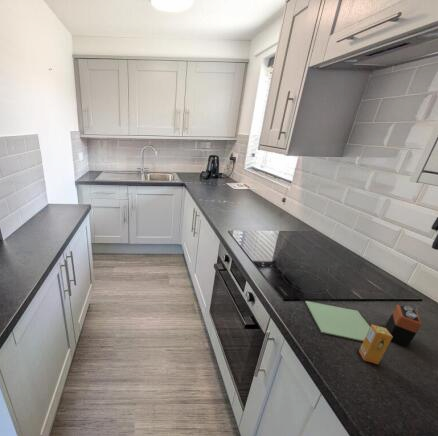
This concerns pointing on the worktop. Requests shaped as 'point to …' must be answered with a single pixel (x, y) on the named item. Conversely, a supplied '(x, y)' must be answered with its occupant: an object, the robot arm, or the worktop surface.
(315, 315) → the sticky note pad
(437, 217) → the robot arm
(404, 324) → the battery
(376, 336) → the supplement box
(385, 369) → the worktop surface
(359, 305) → the worktop surface
